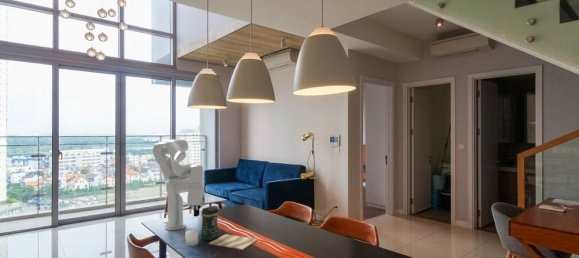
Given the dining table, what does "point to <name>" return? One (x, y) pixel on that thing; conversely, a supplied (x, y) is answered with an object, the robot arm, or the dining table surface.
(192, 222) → the dining table surface
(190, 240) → the white rounded block
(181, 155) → the robot arm
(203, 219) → the coffee jar
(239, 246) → the beige striped cloth
